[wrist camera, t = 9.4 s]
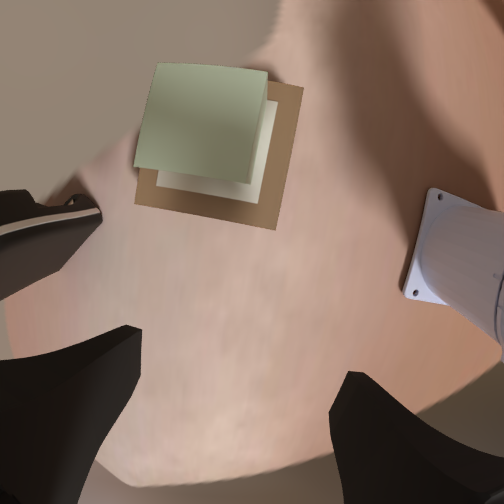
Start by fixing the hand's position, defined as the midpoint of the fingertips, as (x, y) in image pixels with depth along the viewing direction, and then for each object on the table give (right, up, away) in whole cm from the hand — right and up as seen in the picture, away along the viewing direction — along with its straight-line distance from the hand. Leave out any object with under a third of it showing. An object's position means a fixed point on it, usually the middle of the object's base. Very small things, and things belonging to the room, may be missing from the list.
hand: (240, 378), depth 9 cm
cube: (-1, +10, +5) cm, 12 cm away
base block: (-1, +11, +8) cm, 14 cm away
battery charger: (-14, +6, +10) cm, 18 cm away
